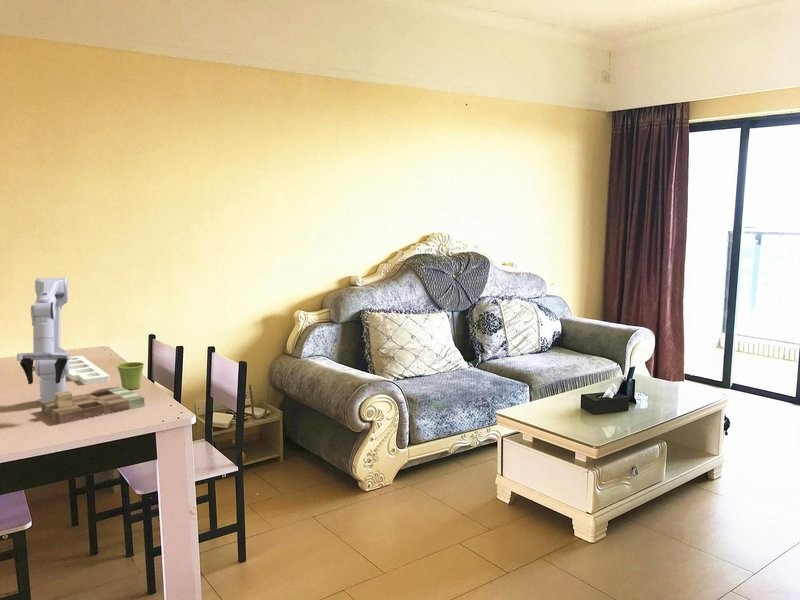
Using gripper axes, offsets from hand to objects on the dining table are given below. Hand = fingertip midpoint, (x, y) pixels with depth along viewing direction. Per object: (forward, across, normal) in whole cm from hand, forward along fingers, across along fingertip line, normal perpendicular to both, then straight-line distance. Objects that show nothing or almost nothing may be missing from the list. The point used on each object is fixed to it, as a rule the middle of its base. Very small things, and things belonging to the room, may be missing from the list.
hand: (44, 383), depth 201 cm
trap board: (+8, +16, +5) cm, 19 cm away
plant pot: (-1, +35, +21) cm, 41 cm away
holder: (-12, +26, +58) cm, 65 cm away
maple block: (+6, +7, +5) cm, 11 cm away
